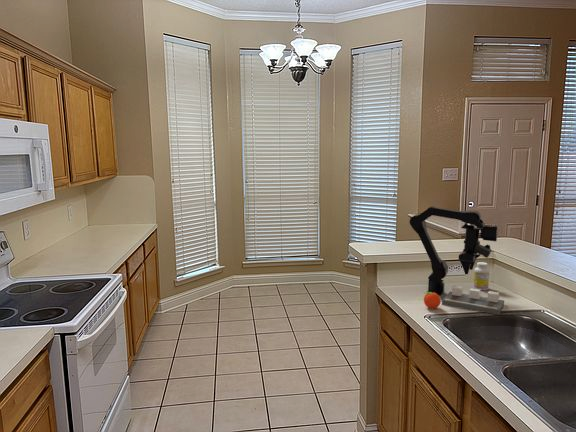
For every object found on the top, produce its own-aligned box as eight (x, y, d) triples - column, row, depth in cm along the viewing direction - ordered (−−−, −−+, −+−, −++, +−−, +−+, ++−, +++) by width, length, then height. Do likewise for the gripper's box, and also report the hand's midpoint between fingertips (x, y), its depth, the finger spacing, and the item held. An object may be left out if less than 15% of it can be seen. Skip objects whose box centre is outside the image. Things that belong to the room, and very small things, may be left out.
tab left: (451, 294, 197) (452, 287, 196) (453, 293, 199) (453, 285, 199) (460, 296, 195) (461, 288, 194) (462, 294, 197) (462, 286, 197)
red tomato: (419, 309, 186) (420, 293, 185) (422, 304, 192) (422, 288, 191) (439, 311, 183) (439, 295, 182) (441, 306, 189) (441, 290, 188)
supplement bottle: (475, 285, 217) (476, 260, 216) (489, 288, 214) (491, 262, 212) (472, 289, 212) (473, 263, 210) (486, 291, 208) (488, 265, 206)
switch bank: (441, 304, 191) (442, 299, 191) (450, 295, 203) (450, 291, 203) (498, 314, 179) (499, 309, 178) (504, 304, 190) (504, 300, 190)
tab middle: (469, 297, 193) (469, 290, 192) (470, 295, 195) (471, 288, 195) (478, 299, 191) (479, 291, 190) (480, 297, 193) (480, 289, 192)
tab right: (487, 300, 189) (487, 292, 188) (488, 298, 191) (489, 291, 191) (497, 302, 186) (497, 294, 186) (498, 300, 189) (499, 292, 188)
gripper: (486, 244, 184) (483, 280, 187) (494, 237, 199) (491, 270, 202) (459, 241, 190) (456, 275, 193) (469, 234, 206) (466, 266, 208)
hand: (468, 271), depth 199 cm, fingers open, 9 cm apart
